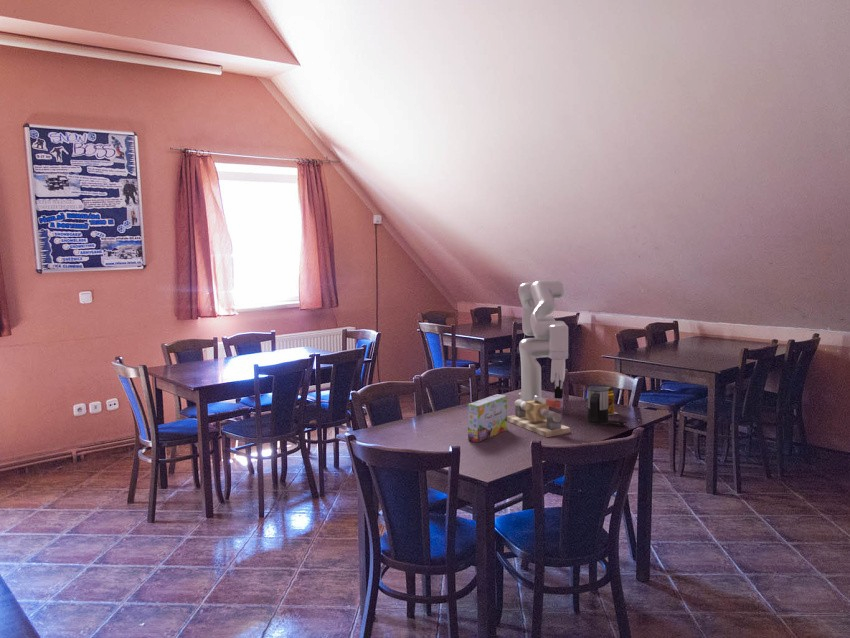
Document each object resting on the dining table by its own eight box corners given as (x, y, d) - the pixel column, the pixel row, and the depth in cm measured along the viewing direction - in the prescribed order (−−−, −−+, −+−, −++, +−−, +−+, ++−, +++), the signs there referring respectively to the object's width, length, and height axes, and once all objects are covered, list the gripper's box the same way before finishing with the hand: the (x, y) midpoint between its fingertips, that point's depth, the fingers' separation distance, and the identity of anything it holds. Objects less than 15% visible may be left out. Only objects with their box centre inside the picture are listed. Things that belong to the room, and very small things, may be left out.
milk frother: (586, 418, 280) (586, 385, 278) (623, 419, 277) (623, 386, 276) (588, 428, 266) (588, 393, 265) (627, 428, 263) (628, 393, 262)
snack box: (479, 443, 251) (478, 405, 249) (467, 440, 254) (466, 403, 252) (508, 430, 267) (507, 394, 265) (496, 427, 270) (496, 393, 269)
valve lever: (532, 401, 270) (532, 395, 269) (537, 400, 271) (537, 394, 271) (556, 408, 257) (556, 402, 257) (561, 407, 259) (561, 401, 258)
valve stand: (506, 420, 280) (506, 397, 279) (529, 416, 286) (528, 393, 284) (546, 437, 255) (546, 411, 254) (570, 432, 261) (570, 407, 259)
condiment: (605, 416, 284) (605, 389, 282) (593, 411, 291) (593, 385, 290) (618, 413, 286) (618, 387, 285) (606, 409, 294) (606, 384, 293)
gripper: (551, 350, 268) (551, 392, 271) (547, 357, 254) (547, 402, 256) (569, 351, 266) (569, 393, 268) (566, 358, 252) (566, 403, 254)
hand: (558, 397), depth 262 cm, fingers closed
